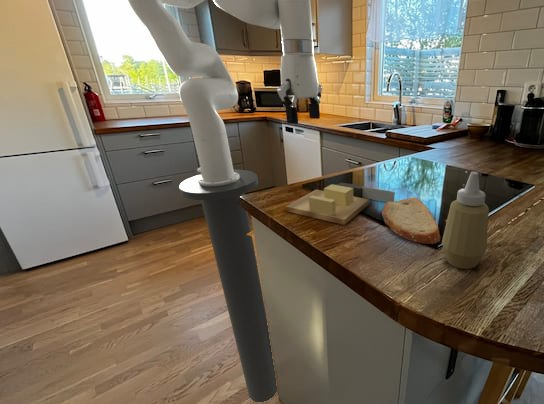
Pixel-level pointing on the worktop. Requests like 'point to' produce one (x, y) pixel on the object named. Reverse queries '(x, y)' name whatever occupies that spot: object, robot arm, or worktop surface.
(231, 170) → the robot arm
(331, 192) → the butter block
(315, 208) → the butter slice
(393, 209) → the slice of bread
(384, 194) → the knife
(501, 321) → the worktop surface
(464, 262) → the squeeze bottle
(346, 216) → the cutting board
